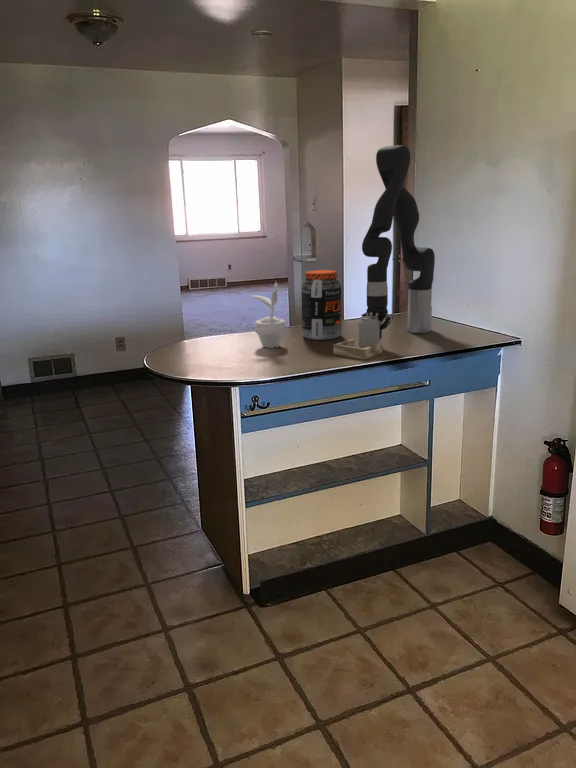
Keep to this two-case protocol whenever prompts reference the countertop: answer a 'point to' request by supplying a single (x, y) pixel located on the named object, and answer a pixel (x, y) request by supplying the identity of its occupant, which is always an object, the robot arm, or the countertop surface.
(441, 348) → the countertop surface
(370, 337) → the can
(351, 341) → the tray
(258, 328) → the potted plant
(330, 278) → the supplement tub
